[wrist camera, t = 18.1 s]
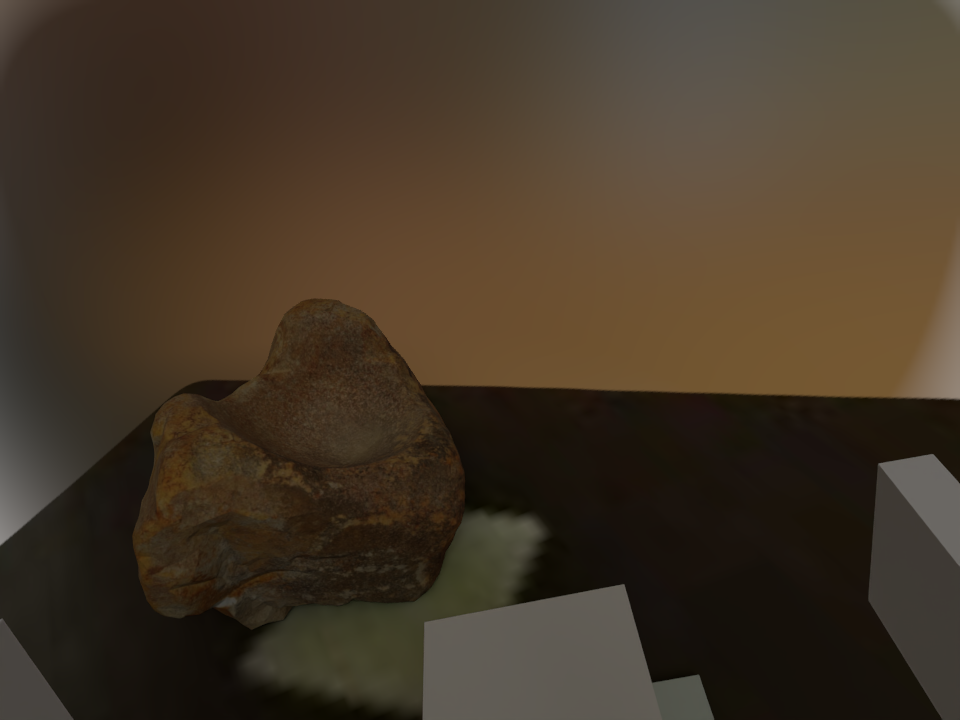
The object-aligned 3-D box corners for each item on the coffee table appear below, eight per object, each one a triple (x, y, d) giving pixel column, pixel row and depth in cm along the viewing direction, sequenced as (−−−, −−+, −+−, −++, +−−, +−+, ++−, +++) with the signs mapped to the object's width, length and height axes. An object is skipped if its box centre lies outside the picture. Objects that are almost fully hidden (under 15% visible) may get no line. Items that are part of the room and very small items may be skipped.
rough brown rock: (413, 742, 40) (356, 512, 33) (144, 684, 45) (43, 475, 38) (527, 463, 59) (507, 279, 52) (328, 445, 64) (284, 275, 57)
